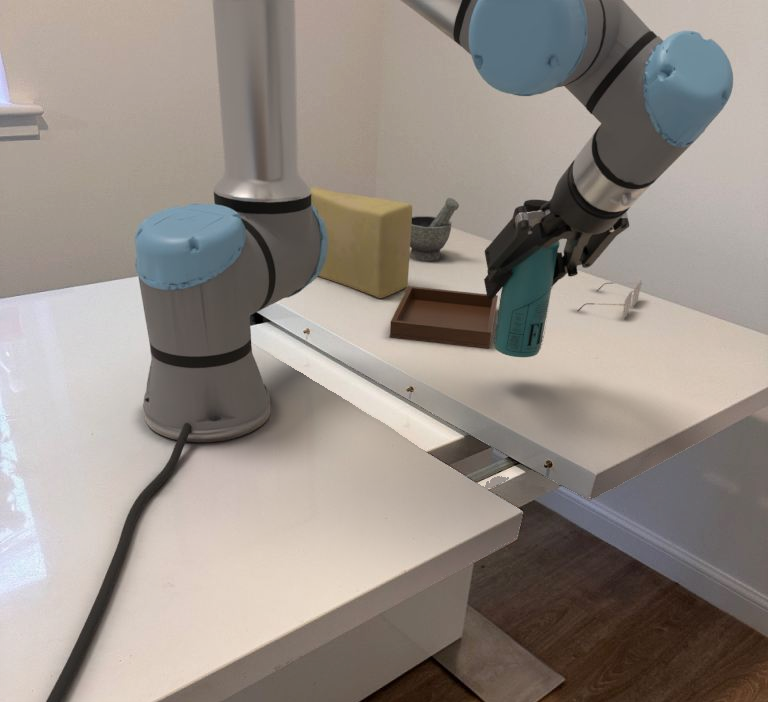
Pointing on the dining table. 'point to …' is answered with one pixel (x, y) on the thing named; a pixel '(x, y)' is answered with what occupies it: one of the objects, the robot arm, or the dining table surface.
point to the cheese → (365, 241)
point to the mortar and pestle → (431, 232)
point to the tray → (445, 317)
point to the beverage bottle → (526, 300)
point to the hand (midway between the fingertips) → (513, 287)
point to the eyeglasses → (628, 298)
